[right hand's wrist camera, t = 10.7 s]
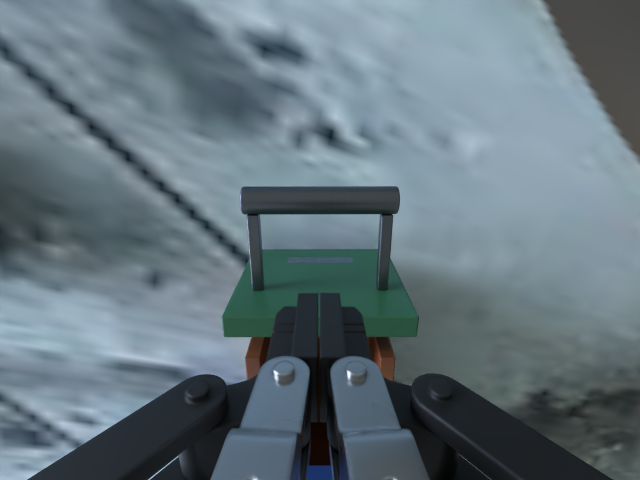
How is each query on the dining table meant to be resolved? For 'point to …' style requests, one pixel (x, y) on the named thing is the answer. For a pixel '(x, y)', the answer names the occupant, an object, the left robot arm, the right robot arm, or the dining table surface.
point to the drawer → (320, 280)
